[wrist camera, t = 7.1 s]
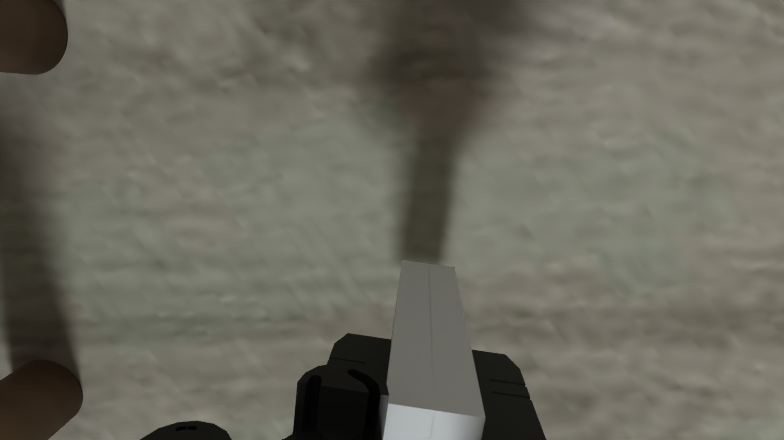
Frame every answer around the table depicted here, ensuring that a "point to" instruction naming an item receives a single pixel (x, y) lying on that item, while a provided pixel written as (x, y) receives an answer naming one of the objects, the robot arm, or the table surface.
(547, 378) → the table surface
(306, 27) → the table surface
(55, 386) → the post
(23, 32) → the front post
